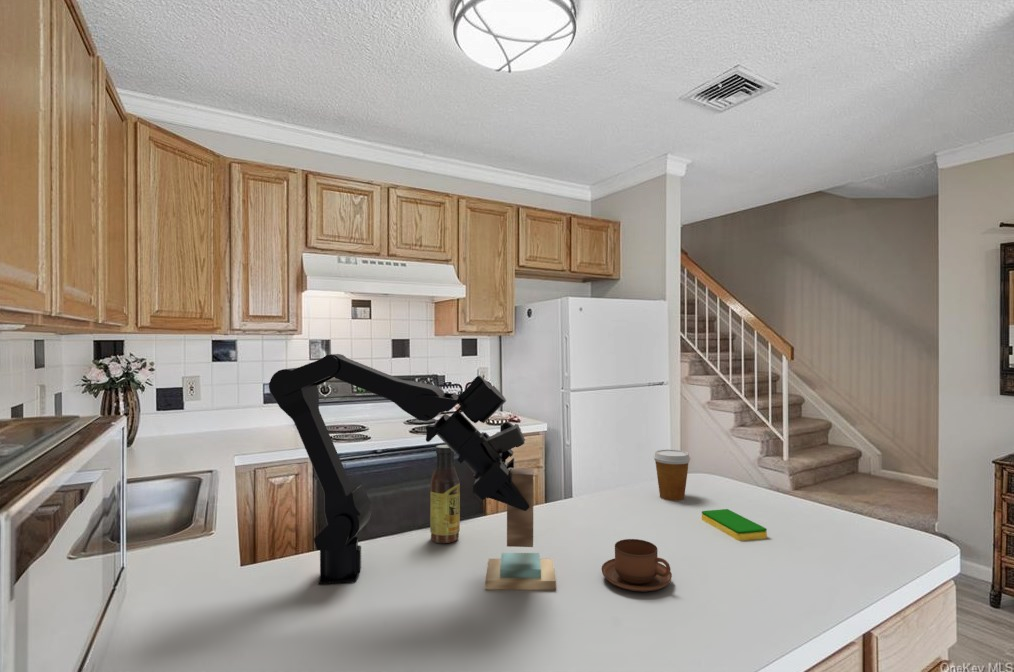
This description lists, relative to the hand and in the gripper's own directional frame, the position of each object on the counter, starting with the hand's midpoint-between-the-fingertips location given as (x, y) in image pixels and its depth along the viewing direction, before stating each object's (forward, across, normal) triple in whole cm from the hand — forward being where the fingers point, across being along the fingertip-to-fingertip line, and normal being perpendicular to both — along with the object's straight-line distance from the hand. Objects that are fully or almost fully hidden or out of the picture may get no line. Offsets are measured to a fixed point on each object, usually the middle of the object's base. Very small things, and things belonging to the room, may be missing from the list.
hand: (528, 504), depth 93 cm
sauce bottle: (-3, +18, +23) cm, 29 cm away
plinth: (+8, +1, +10) cm, 14 cm away
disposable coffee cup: (+36, +51, -17) cm, 65 cm away
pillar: (+4, 0, +6) cm, 7 cm away
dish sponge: (+42, +29, -22) cm, 55 cm away
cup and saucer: (+23, +1, -4) cm, 24 cm away
